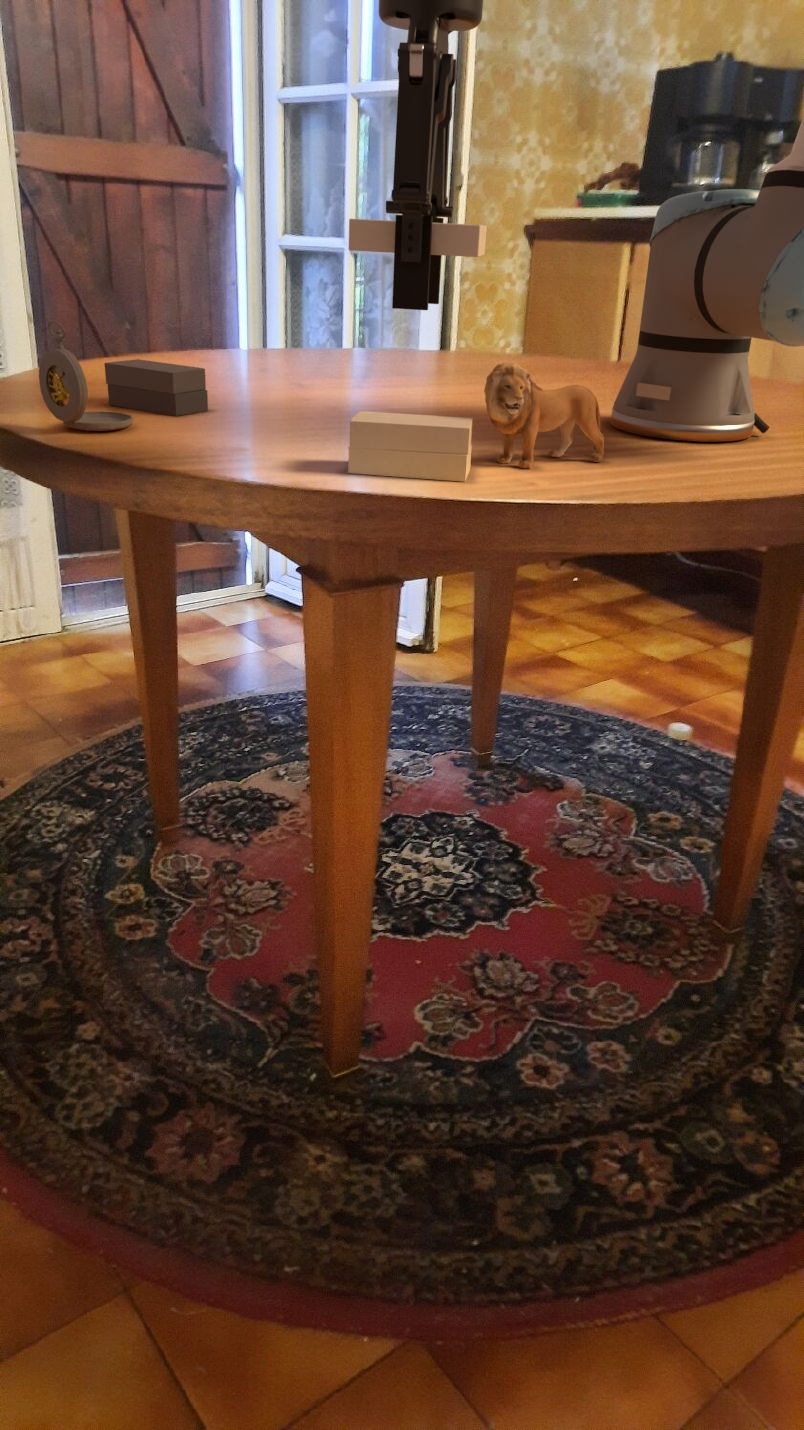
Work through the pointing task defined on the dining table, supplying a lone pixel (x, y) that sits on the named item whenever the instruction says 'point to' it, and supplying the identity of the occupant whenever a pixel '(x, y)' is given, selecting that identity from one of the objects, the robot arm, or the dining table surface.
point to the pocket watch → (72, 391)
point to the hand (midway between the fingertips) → (416, 305)
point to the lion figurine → (539, 412)
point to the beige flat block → (444, 242)
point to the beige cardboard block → (410, 446)
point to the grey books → (156, 387)
